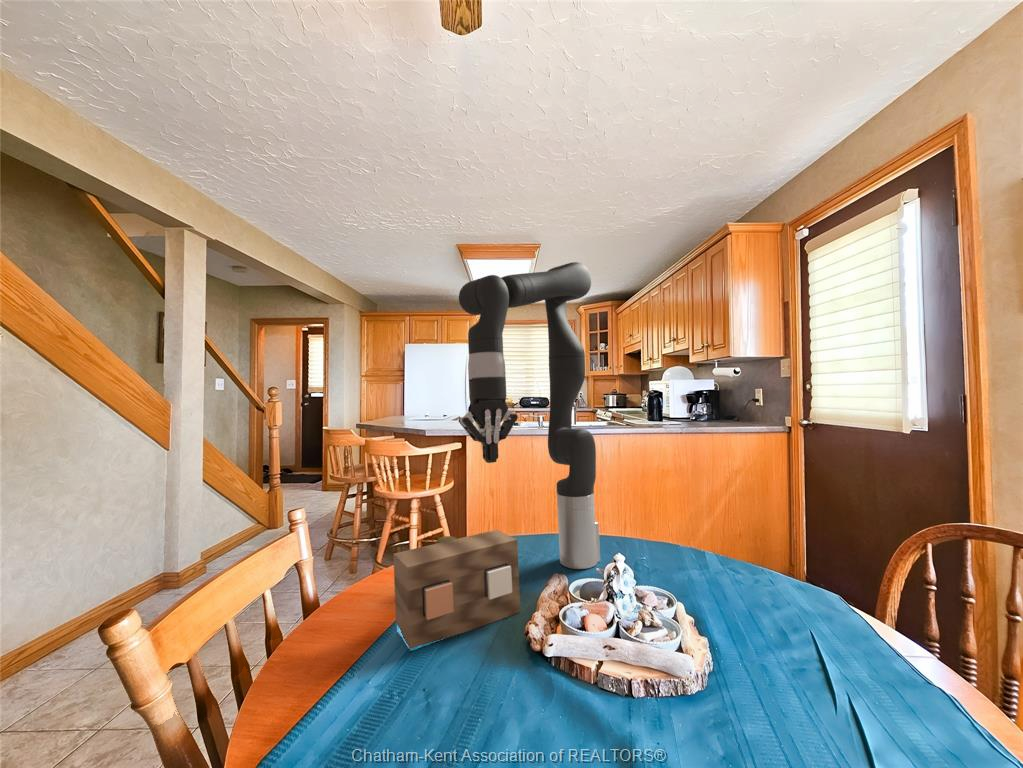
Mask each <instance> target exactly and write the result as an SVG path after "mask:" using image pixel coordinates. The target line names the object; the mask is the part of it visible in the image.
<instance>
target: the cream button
mask: <svg viewBox="0 0 1023 768" xmlns="http://www.w3.org/2000/svg"><path fill="white" fill-rule="evenodd" d="M484 576H485V594H486V595H487V596H488V599H494V598H497V597H500V596H503V595H506V594H509V593H512V574H511V566H506V565H505V564H503V565H500V566H496V567H492V568H489V569H485V570H484Z"/></svg>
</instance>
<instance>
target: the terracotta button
mask: <svg viewBox="0 0 1023 768" xmlns="http://www.w3.org/2000/svg"><path fill="white" fill-rule="evenodd" d="M422 594H423V613H424V614H425V615H426V619H427V620H430V619H433V618H436V617H439V616H442V615H445V614H448V613H451V612H454V608H453V584H452V583H449V582H447V581H443V582H439V583H436V584H432V585H429V586H425V587H422Z"/></svg>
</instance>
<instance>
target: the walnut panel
mask: <svg viewBox="0 0 1023 768" xmlns="http://www.w3.org/2000/svg"><path fill="white" fill-rule="evenodd" d="M503 564H505V565H506V566H511V574H512V593H509V594H506V595H503V596H500V597H497V598H494V599H488V596H487V595H486V594H485V576H484V570H485V569H489V568H492V567H496V566H500V565H503ZM519 570H520V569H519V546H518V539H517V538H515V537H513V536H511V535H509V534H507V533H505V532H503V531H501V530H499V529H494V530H490V531H485V532H482V533H477V534H473V535H469V536H463V537H460V538H456V539H455V540H450V541H446V542H442V543H437V544H435V543H434V544H430V545H425V546H420V547H417V548H411V549H408V550H402V551H398V552H395V553H393V572H394V573H393V576H394V578H393V580H394V581H393V582H394V583H393V584H394V605H395V606H394V607H395V610H394V611H395V612H394V613H395V624H396V623H397V624H398V626H399V628H400V630H401V633H402V635H403V638H404V639H405V641H406V643H407V644H408V646H409V648H410V649H411V648H414V647H417V646H420V645H424V644H427V643H430V642H434V641H437V640H441V639H444V638H448V637H451V636H453V637H455V636H454V635H456V636H458V635H457V634H459V635H461V633H462V634H464V633H467V632H470V631H472V630H475V629H478V628H481V627H484V626H485V625H486V626H487V625H490V624H492V623H495V622H498V621H500V620H503V619H505V618H508V617H511V616H514V615H516V614H519V613H521V596H520V595H521V593H520V592H521V590H520V572H519ZM443 581H447V582H449V583H452V584H453V608H454V612H451V613H448V614H445V615H442V616H439V617H436V618H433V619H430V620H427V619H426V615H425V614H424V613H423V594H422V587H425V586H429V585H432V584H436V583H439V582H443ZM451 638H452V637H451ZM448 639H449V638H448Z"/></svg>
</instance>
